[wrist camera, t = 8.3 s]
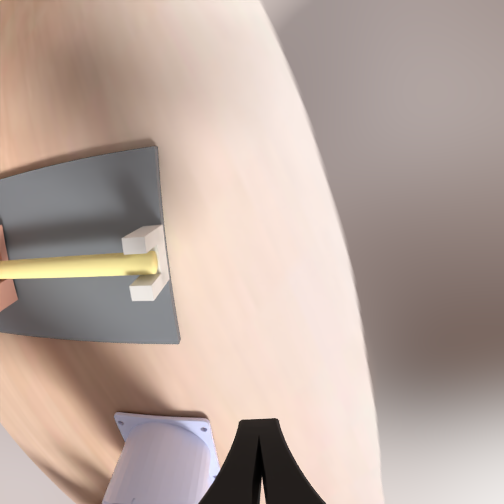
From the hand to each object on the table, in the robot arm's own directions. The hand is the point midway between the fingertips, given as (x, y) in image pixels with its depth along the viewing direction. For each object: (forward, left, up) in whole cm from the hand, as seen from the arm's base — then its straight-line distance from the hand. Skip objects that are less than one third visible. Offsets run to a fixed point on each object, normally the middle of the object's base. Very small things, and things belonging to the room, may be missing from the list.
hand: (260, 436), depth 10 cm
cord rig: (+5, +17, -9) cm, 20 cm away
